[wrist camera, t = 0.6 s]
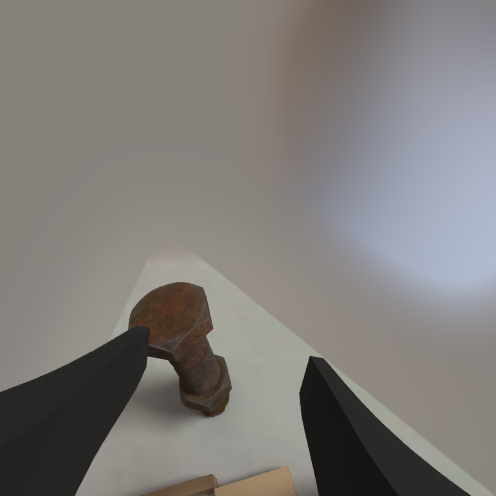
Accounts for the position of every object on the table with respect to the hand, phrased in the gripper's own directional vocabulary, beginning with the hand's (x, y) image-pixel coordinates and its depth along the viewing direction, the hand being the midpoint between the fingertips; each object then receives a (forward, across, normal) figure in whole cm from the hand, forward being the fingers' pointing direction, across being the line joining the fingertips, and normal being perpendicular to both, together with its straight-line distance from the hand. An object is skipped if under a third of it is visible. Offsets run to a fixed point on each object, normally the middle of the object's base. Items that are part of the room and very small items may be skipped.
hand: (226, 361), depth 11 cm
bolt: (+12, 0, +14) cm, 19 cm away
